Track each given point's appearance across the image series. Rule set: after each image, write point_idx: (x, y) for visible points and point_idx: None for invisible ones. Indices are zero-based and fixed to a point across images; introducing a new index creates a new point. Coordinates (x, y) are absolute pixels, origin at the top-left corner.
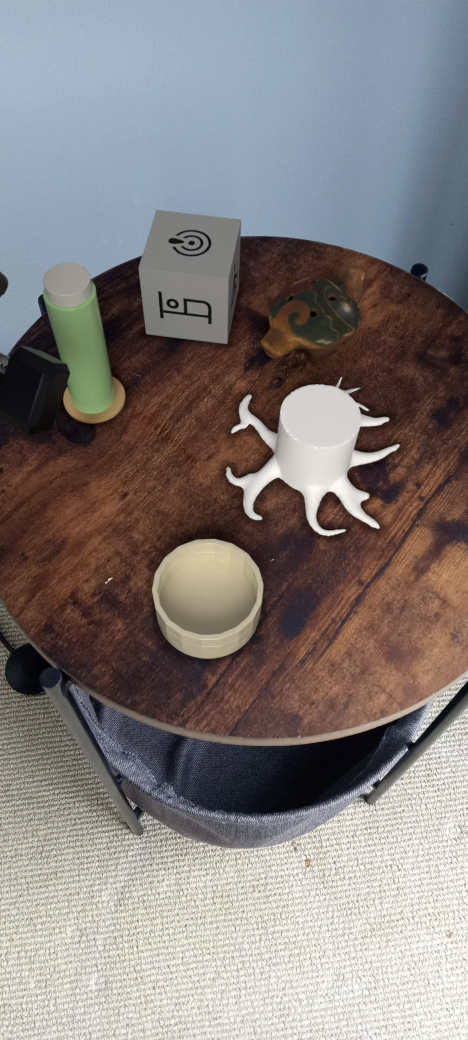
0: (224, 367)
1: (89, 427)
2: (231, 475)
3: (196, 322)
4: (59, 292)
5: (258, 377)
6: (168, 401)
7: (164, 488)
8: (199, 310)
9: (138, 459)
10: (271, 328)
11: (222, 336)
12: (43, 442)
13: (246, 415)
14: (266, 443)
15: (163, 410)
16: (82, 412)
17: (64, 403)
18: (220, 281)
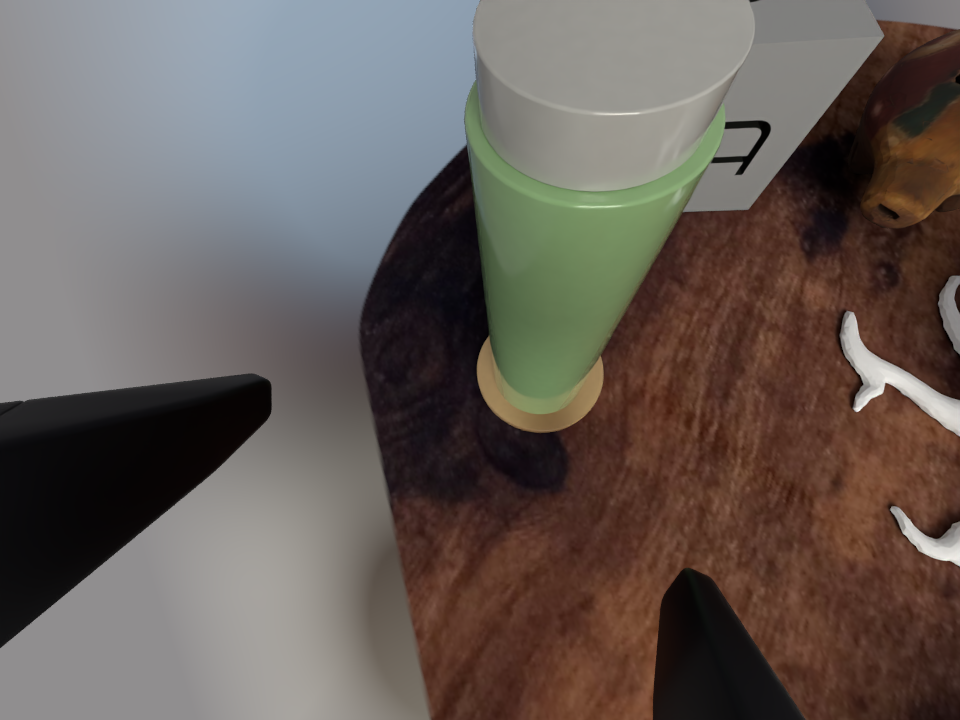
0: (765, 258)
1: (548, 442)
2: (922, 535)
3: (709, 176)
4: (609, 99)
5: (842, 269)
6: (687, 353)
7: (772, 590)
8: (734, 147)
9: (681, 513)
10: (901, 161)
11: (748, 196)
12: (463, 497)
13: (875, 365)
14: (946, 427)
15: (685, 376)
16: (527, 412)
17: (484, 395)
18: (851, 51)
